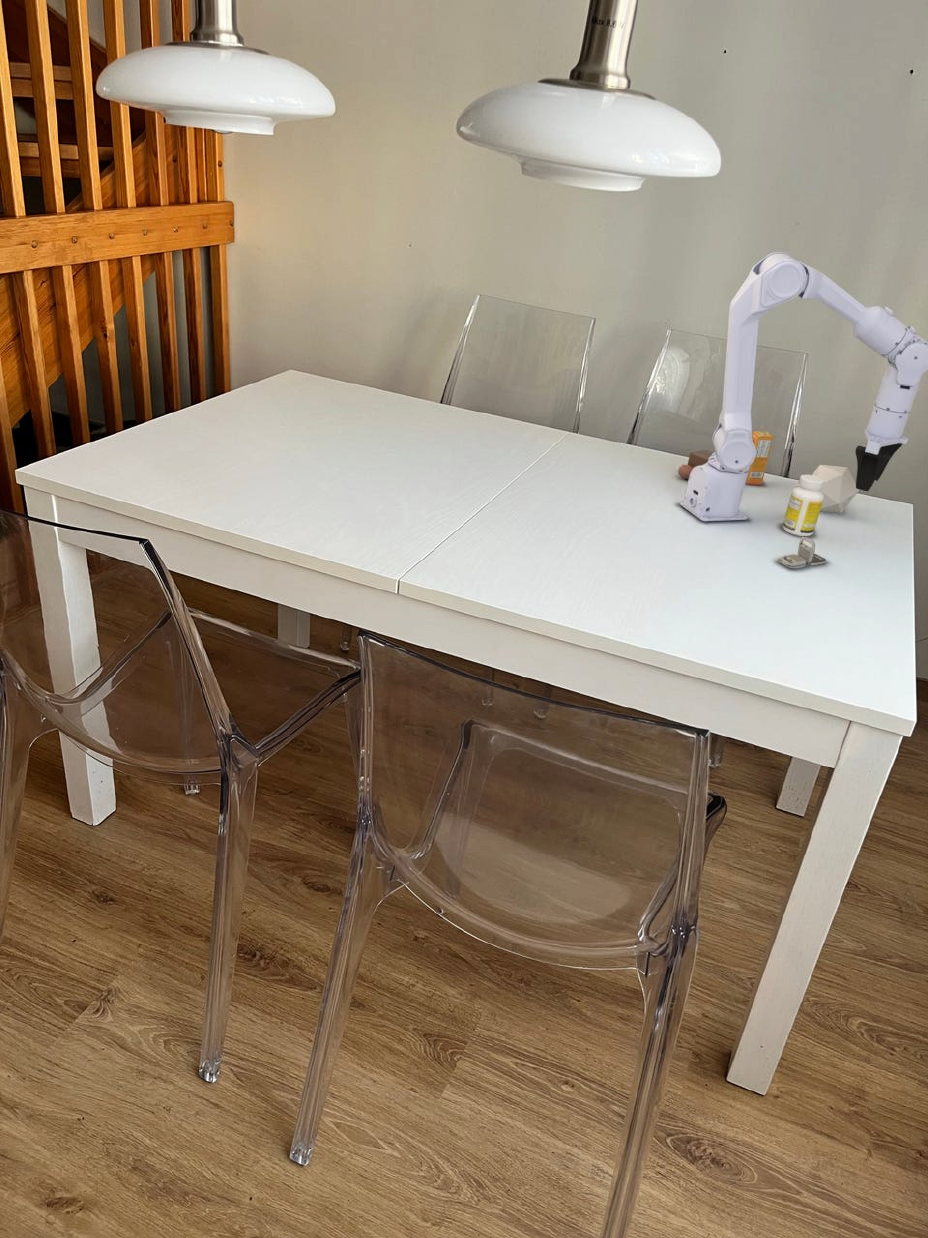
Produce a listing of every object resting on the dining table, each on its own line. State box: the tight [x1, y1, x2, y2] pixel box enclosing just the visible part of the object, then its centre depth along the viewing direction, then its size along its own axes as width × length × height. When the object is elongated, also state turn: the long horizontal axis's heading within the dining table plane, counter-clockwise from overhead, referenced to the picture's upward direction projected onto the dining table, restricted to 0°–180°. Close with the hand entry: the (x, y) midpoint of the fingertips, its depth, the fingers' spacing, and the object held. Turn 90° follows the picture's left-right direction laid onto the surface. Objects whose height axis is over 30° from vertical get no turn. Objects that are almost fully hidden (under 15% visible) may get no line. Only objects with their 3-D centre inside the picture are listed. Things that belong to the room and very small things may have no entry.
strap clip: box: [778, 536, 827, 569], centre depth 157 cm, size 8×3×4 cm, turn 119°
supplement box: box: [745, 430, 774, 486], centre depth 189 cm, size 3×3×10 cm
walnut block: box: [687, 449, 714, 468], centre depth 189 cm, size 5×5×5 cm
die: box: [811, 464, 860, 514], centre depth 181 cm, size 8×9×10 cm
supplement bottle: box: [782, 474, 824, 537], centre depth 169 cm, size 5×5×10 cm
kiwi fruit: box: [677, 464, 694, 480], centre depth 189 cm, size 6×5×3 cm
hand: (867, 484), depth 169 cm, fingers open, 7 cm apart
